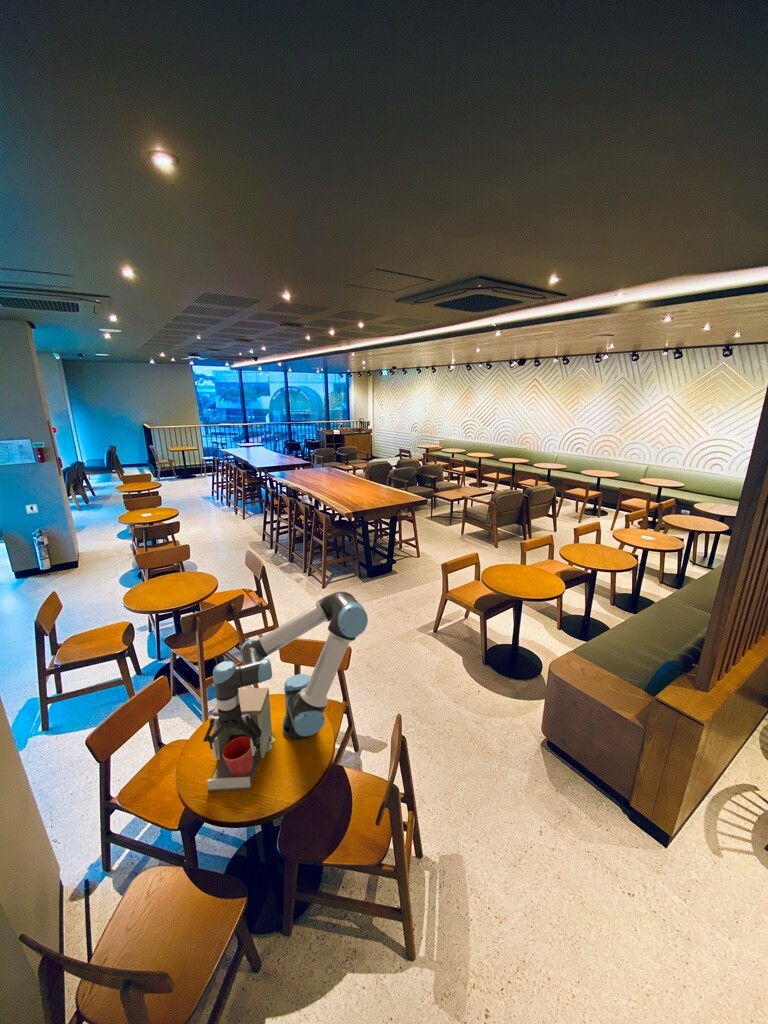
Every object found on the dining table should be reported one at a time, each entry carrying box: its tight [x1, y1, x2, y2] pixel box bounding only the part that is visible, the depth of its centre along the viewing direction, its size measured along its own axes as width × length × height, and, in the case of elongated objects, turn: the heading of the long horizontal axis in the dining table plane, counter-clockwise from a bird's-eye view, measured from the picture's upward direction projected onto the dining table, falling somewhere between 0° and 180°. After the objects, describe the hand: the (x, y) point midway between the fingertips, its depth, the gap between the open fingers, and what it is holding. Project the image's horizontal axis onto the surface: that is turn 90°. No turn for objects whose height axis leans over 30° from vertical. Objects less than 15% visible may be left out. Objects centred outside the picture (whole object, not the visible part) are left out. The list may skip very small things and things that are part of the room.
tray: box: [206, 750, 261, 792], centre depth 146 cm, size 15×14×4 cm
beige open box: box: [212, 687, 273, 761], centre depth 158 cm, size 18×14×21 cm
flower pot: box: [222, 735, 253, 778], centre depth 146 cm, size 11×11×10 cm
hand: (235, 754), depth 145 cm, fingers open, 13 cm apart
